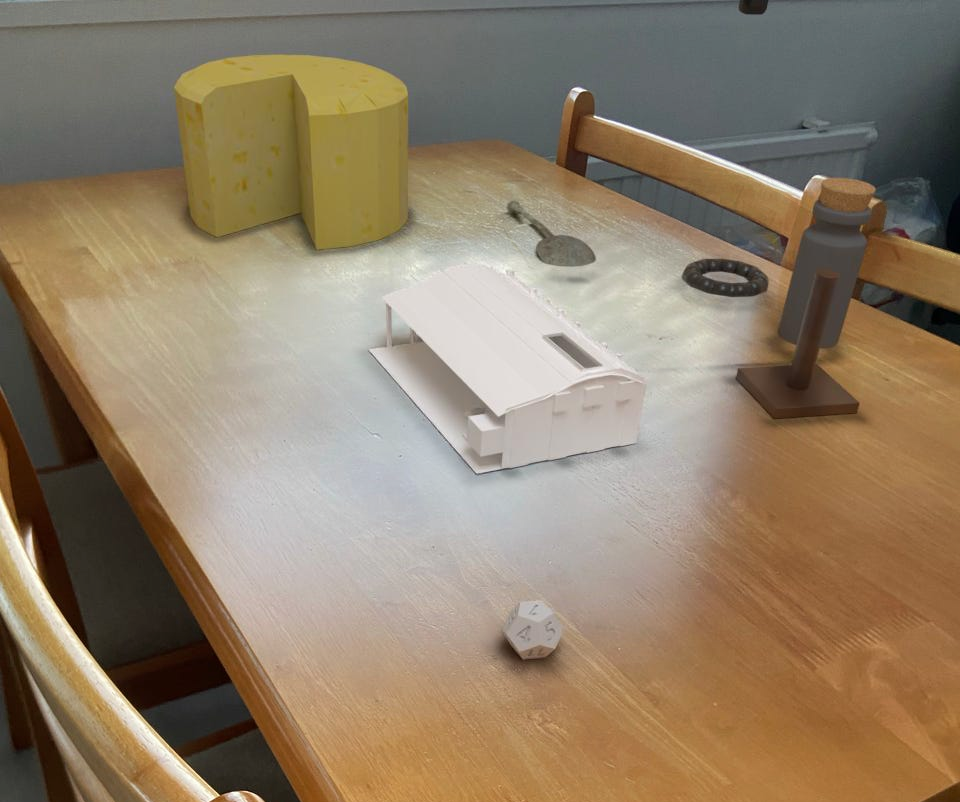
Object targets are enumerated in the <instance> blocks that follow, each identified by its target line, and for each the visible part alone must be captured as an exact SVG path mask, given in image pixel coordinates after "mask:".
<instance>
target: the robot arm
mask: <svg viewBox="0 0 960 802" xmlns="http://www.w3.org/2000/svg"><path fill="white" fill-rule="evenodd" d="M768 4H769V0H739V3H738V11H739V12H740V13H742V14H744V15H750V16H751V15H752V16H753V15H755V16H756V15H758V16H760V15H764V14H765V13H766V11H767V9H768Z"/></svg>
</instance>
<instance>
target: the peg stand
mask: <svg viewBox="0 0 960 802" xmlns="http://www.w3.org/2000/svg"><path fill="white" fill-rule="evenodd" d="M839 278H840V274H839V273H838V272H836V271H833V270H828V269H819V270H817V271H816V272H815V276H814V280H813V284H812V287H811V291H810V295H809V299H808V303H807V306H806V310H805V314H804V318H803V322H802V325H801V329H800V333H799V337H798V341H797V344H796V345H795V349H794V352H793V356H792V360H791V364H789V365H788V364H787V365H786V364H785V365H774V366H772V365H770V366H755V367H754V366H753V367H752V366H751V367H738V368H737V371H736V375H735V376H736V377H735V379H736V380H737V381H738V383H740V384H741V385H742V386H743V388H745V390H746V391H748V392H749V394H750V395H751V396H752V397H753V398H754V399H755V400H756V402H758V403H759V405H761V406H762V408H763V409H765V411H766V412H767V413H768V414H769V415H770V416H771V418H773V419H788V418H802V417H804V418H805V417H817V416H819V417H820V416H830V415H831V416H832V415H833V416H834V415H846V414H847V415H848V414H857V413H858V411H859V407H860V401H859V400H857V398H856V397H854V396H853V395H852V394H851V393H850V392H848V391H847V389H845V388H844V387H843V386H842V385H841V384H840V383H839V382H838V381H837V380H835V378H833V377H832V376H831V374H829V373H828V372H826V371H825V369H823V368H822V367H821V366H820V365H819V364H818V363H817V360H818V357H819V352H820V346H821V342H822V339H823V335H824V332H825V328H826V324H827V321H828V317H829V314H830V310H831V307H832V303H833V299H834V296H835V292H836V289H837V285H838V282H839Z"/></svg>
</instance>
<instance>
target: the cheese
mask: <svg viewBox="0 0 960 802" xmlns="http://www.w3.org/2000/svg"><path fill="white" fill-rule="evenodd" d="M407 87H408V86H407V85H406V84H405V83H404V82H403V81H402V80H401V79H400V78H398V77H396V76H395V75H393V74H392V73H390V72H388V71H385V70H383V69H381V68H380V67H377V66H372V65H369V64H367V63H363V62H360V61H354V60H349V59H344V58H337V57H329V56H319V55H306V54H252V55H244V56H243V55H242V56H235V57H234V56H233V57H227V58H226V57H225V58H222V59H217V60H212V61H208V62H206V63H203V64H200V65H199V66H197V67H195V68H193V69H190V70H188V71H186V72H183V73H182V74H181V76H180V77H179V78H178V79H177V81H176V83H175V84H174V86H173V91H174V100H175V107H176V115H177V122H178V130H179V138H180V144H181V153H182V154H181V155H182V160H183V161H182V162H183V168H184V169H183V170H184V176H185V184H186V190H187V200H188V207H189V214H190V218H191V220H192V221H193V223H194V224H195V226H196V227H197V228H198V229H200V230H202V231H204V232H206V233H207V234H210V235H211V236H213V237H215V238H220V237H223V236H226V235H230V234H234V233H237V232H241V231H244V230H246V229H250V228H251V229H252V228H254V227H257V226H260V225H264V224H267V223H271V222H275V221H278V220H281V219H285V218H288V217H292V216H296V215H298V214H301V216H302V219H303V221H304V223H305V226H306V228H307V231H308V233H309V235H310V238H311V241H312V243H313V245H314V248H315V250H316V251H320V250H330V249H341V248H349V247H354V246H359V245H363V244H368V243H372V242H375V241H376V242H377V241H380V240H382V239H384V238H386V237H388V236H391V235H393V234H394V233H396V232H399V231H400V230H401V229H402V228H403V227H404V225H405V224H406V223H407V222H408V221H409V91H408V88H407Z"/></svg>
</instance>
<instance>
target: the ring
mask: <svg viewBox="0 0 960 802" xmlns="http://www.w3.org/2000/svg"><path fill="white" fill-rule="evenodd" d="M720 272H721V273H727V274H733V275H736V276H739V277H742V278H744V279H745V280H746V281H747V282H746V281H745V282H727V281H723V280H722V281H721V280H715V279H713V278H710V277H707V276H705V274H708V273H720ZM681 279H682V280H683V282H685V283H686V284H687V285H688V286H689V287H691V288H693V289H695V290H698V291H700V292H703V293H706V294H709V295H716V296H722V297H728V298H746V297H747V298H749V297H755V296H758V295H761V294H763V293H767V292H768V287H769V285H770V279H769V277H768V275H767V274H766V273H765V272H763V270H762V269H760V268H759V267H757V266H755V265H753V264H749V263H747V262H744V261H741V260H735V259H730V258H729V259H728V258H721V257H720V258H719V257H718V258H701V259H698V260H696V261H693V262H689V263H688V264H687V265H686V266H685V268H684V270H683V272H682V275H681Z"/></svg>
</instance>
